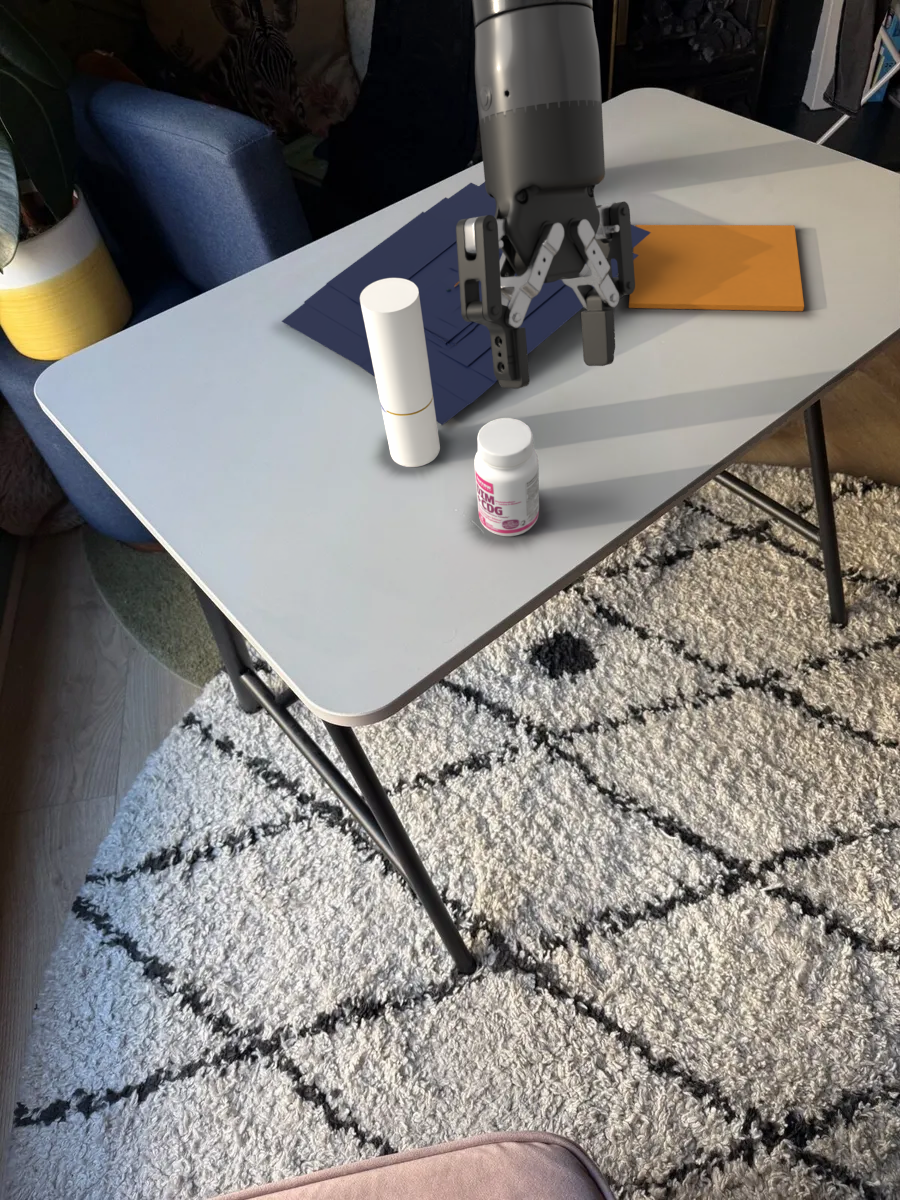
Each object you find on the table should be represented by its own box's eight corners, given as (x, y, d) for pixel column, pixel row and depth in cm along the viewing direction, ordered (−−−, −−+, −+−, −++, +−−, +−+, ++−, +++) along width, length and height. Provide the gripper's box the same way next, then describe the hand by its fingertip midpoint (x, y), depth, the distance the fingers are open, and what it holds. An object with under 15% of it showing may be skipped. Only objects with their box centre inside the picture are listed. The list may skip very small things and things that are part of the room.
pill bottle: (470, 530, 69) (461, 450, 62) (491, 488, 71) (485, 408, 64) (527, 544, 67) (525, 464, 60) (547, 501, 70) (546, 420, 63)
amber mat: (793, 230, 90) (794, 224, 89) (803, 311, 81) (804, 306, 81) (634, 229, 92) (635, 224, 92) (628, 308, 84) (629, 302, 84)
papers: (666, 263, 86) (667, 230, 83) (450, 448, 78) (442, 419, 75) (491, 188, 98) (486, 157, 95) (288, 341, 90) (276, 312, 87)
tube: (450, 446, 75) (430, 290, 63) (415, 474, 73) (388, 319, 61) (415, 425, 77) (389, 271, 65) (380, 452, 75) (347, 298, 63)
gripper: (499, 93, 47) (525, 398, 53) (660, 94, 55) (667, 358, 61) (411, 120, 52) (444, 394, 58) (570, 117, 60) (585, 357, 66)
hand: (558, 375), depth 60 cm, fingers open, 8 cm apart
